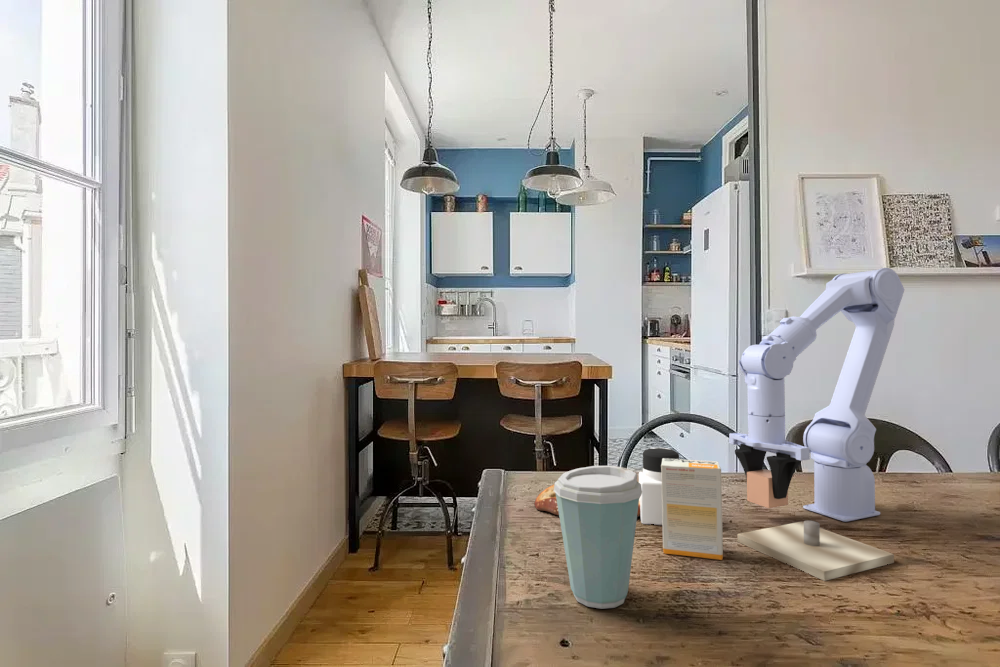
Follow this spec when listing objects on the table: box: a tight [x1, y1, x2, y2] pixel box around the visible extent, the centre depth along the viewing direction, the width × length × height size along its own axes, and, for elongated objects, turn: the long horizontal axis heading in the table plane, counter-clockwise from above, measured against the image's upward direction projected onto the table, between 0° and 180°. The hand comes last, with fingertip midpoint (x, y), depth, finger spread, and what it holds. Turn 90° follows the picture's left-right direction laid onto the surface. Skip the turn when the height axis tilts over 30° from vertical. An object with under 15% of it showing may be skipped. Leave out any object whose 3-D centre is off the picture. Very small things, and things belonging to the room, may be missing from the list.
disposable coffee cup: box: [553, 465, 642, 610], centre depth 64 cm, size 11×11×15 cm
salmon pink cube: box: [746, 468, 789, 509], centre depth 89 cm, size 4×4×5 cm
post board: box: [737, 520, 895, 582], centre depth 76 cm, size 14×14×4 cm
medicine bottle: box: [638, 447, 680, 526], centre depth 91 cm, size 7×7×12 cm
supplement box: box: [661, 458, 724, 561], centre depth 77 cm, size 8×5×13 cm, turn 71°
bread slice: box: [533, 484, 640, 517], centre depth 96 cm, size 18×18×4 cm
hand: (767, 493), depth 89 cm, fingers closed on salmon pink cube, 4 cm apart
